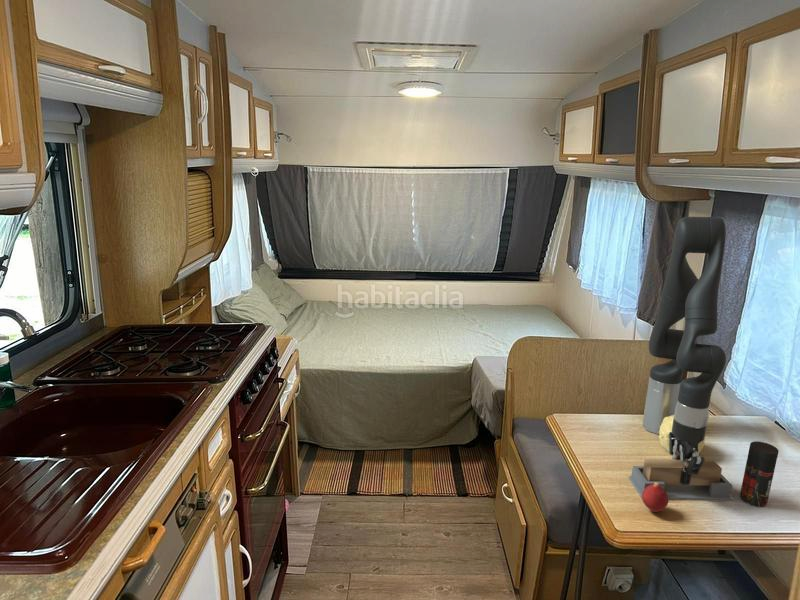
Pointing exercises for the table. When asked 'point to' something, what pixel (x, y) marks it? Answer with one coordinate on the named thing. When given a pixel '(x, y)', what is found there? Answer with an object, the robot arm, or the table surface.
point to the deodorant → (758, 473)
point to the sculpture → (666, 429)
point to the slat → (672, 471)
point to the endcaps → (684, 488)
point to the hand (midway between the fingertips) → (680, 478)
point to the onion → (655, 497)
